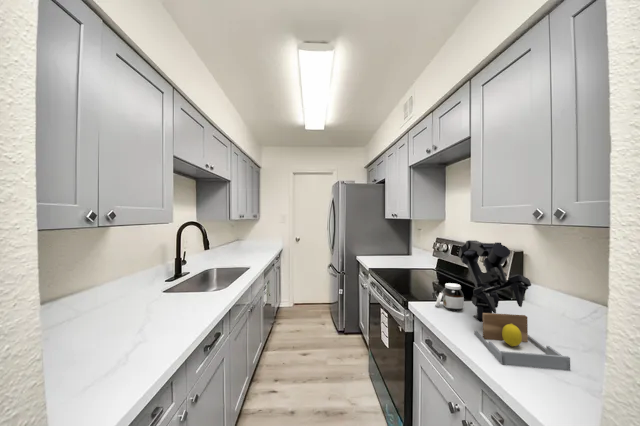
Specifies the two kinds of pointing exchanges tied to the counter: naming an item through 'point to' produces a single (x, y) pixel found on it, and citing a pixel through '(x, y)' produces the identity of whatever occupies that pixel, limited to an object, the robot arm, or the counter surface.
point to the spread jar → (452, 297)
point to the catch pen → (529, 356)
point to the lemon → (511, 335)
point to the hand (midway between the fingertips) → (507, 309)
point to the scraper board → (497, 321)
